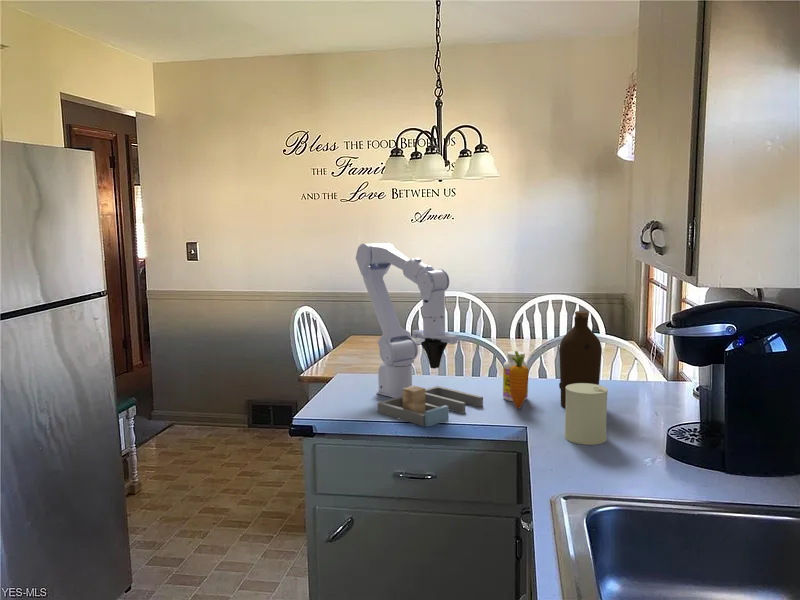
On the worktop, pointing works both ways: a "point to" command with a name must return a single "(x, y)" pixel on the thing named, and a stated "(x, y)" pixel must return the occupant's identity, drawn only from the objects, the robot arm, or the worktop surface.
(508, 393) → the supplement bottle
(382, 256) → the robot arm
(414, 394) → the tan rectangular block
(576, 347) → the olive oil
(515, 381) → the carrot
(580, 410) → the can
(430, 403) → the gray divided frame
